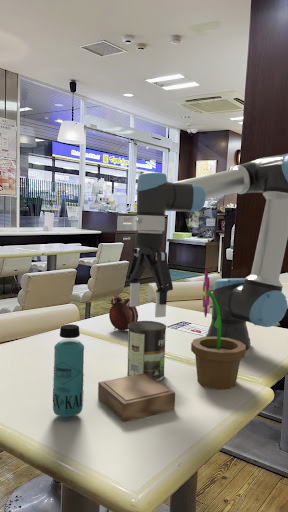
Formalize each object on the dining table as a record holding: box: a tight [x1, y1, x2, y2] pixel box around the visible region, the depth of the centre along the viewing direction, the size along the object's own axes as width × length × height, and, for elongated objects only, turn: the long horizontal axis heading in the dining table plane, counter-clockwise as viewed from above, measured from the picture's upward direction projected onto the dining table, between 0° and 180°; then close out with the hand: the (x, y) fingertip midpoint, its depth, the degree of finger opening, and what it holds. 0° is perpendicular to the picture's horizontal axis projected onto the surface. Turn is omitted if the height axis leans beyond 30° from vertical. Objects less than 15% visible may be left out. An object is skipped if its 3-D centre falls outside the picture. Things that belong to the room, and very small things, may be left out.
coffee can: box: [126, 320, 167, 382], centre depth 115 cm, size 10×10×14 cm
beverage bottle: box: [51, 324, 85, 418], centre depth 90 cm, size 6×7×20 cm
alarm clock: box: [108, 291, 139, 333], centre depth 159 cm, size 11×5×15 cm, turn 58°
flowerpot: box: [190, 268, 247, 390], centre depth 112 cm, size 14×14×30 cm
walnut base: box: [97, 373, 176, 423], centre depth 98 cm, size 13×13×4 cm
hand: (146, 311), depth 114 cm, fingers open, 13 cm apart
